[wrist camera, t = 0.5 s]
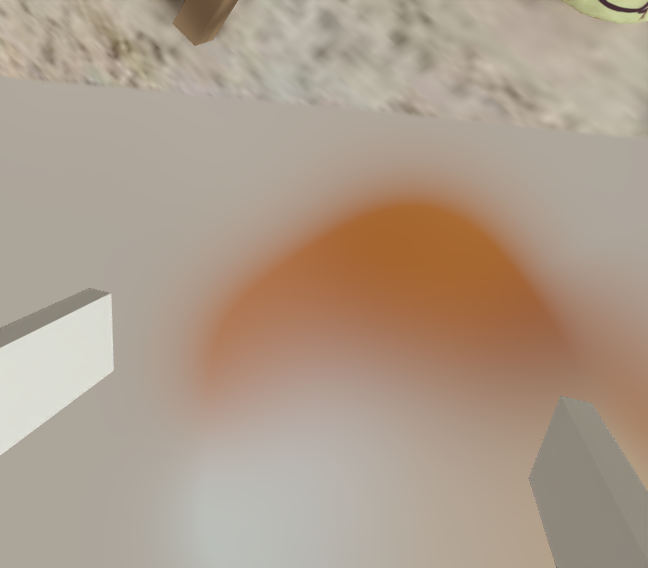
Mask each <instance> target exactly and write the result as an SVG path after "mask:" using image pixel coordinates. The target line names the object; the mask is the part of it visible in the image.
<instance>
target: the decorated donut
mask: <svg viewBox="0 0 648 568" xmlns="http://www.w3.org/2000/svg"><path fill="white" fill-rule="evenodd" d="M561 1H563V2H565V3H567V4H568V5H570V6H572V7H573V8H575V9H576V10H578V11H579V12H580V13H582V14H585V15H588V16H591V17H595V18H598V19H601V20H605V21H611V22H614V23H629V24H630V23H639V22H643V21H648V0H561Z"/></svg>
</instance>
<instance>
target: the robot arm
mask: <svg viewBox="0 0 648 568" xmlns="http://www.w3.org/2000/svg"><path fill="white" fill-rule="evenodd" d="M113 370H114V365H113V336H112V306H111V293H108V292H104V291H100V290H95V289H91V288H88V289H86V290H84V291H81V292H79V293H77V294H75V295H73V296H70V297H68V298H66V299H64V300H61V301H59V302H57V303H55V304H53V305H50V306H48V307H46V308H43V309H41V310H39V311H37V312H34V313H32V314H30V315H28V316H26V317H23V318H22V319H19V320H17V321H15V322H12V323H10V324H8V325H5V326H3V327H1V328H0V455H1V454H2V453H4V452H5V451H7V450H8V449H9V448H11V447H12V446H13V445H14V444H16V443H17V442H19V441H20V440H21V439H23V438H24V437H25V436H27V435H28V434H29V433H31V432H32V431H33V430H35V429H36V428H37V427H38V426H40V425H41V424H43V423H44V422H45V421H46V420H48V419H49V418H51V417H52V416H53V415H55V414H56V413H57V412H59V411H60V410H61V409H63V408H64V407H65V406H67V405H68V404H69V403H70V402H72V401H73V400H75V399H76V398H77V397H78V396H80V395H81V394H83V393H84V392H85V391H87V390H88V389H89V388H90V387H92V386H93V385H95V384H96V383H97V382H99V381H100V380H101V379H103V378H104V377H105V376H107V375H108V374H109V373H111V372H112V371H113ZM529 481H530V484H531V487H532V490H533V494H534V497H535V500H536V503H537V507H538V510H539V513H540V516H541V519H542V523H543V526H544V529H545V532H546V536H547V539H548V542H549V545H550V548H551V552H552V555H553V558H554V562H555V565H556V568H648V491H647V490H646V488H645V487H644V485H643V483H642V482H641V480H640V479H639V477H638V475H637V474H636V472H635V471H634V469H633V468H632V466H631V464H630V463H629V462H628V460H627V458H626V457H625V455H624V453H623V452H622V450H621V449H620V447H619V446H618V444H617V442H616V441H615V439H614V438H613V436H612V434H611V433H610V431H609V430H608V428H607V426H606V425H605V423H604V422H603V420H602V419H601V417H600V415H599V414H598V412H597V411H596V409H595V408H594V406H593V404H592V403H589V402H585V401H580V400H575V399H571V398H567V397H563V396H560V398H559V401H558V404H557V406H556V409H555V411H554V414H553V417H552V419H551V422H550V425H549V427H548V430H547V432H546V435H545V438H544V440H543V443H542V445H541V448H540V450H539V453H538V456H537V458H536V461H535V463H534V466H533V468H532V471H531V474H530V476H529Z"/></svg>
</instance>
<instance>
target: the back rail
mask: <svg viewBox="0 0 648 568" xmlns="http://www.w3.org/2000/svg"><path fill="white" fill-rule="evenodd" d="M237 1H238V0H185V2H184V4H183V5H182V7H181V9H180V11H179V13H178V15H177V16H176V18H175V20H174V22H173V24H174V25H175V26H176V27H177V28H178V29H179V30H180V31H181V32H182V33H183V34H184V35H185V36H186V37H187V38H188V39H189V40H190V41H191V42H192V43H193V44H194V45H195V46H196V45H199V44H202V43H205V42H208V41H211V40H213V39H214V37H215V36H216V34H217V33H218V31H219V29H220V28H221V26H222V25H223V23H224V22H225V20H226V18H227V17H228V15H229V14H230V12H231V10H232V9H233V7H234V6H235V4H236V3H237Z"/></svg>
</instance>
